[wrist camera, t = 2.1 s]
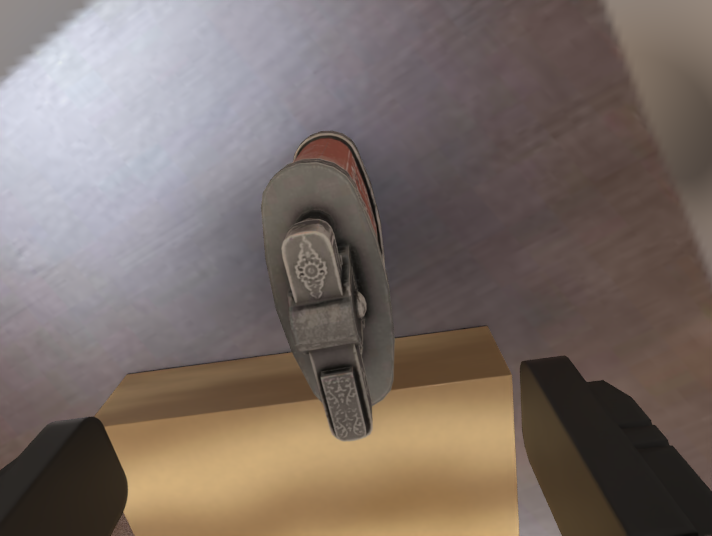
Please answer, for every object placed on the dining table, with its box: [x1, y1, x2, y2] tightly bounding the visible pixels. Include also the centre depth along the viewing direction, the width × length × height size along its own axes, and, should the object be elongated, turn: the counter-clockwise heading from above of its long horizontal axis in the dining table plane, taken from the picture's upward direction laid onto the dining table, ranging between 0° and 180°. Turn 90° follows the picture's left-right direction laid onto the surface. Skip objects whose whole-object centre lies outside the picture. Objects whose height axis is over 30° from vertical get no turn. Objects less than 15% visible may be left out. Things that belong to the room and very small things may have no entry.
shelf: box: [94, 326, 519, 536], centre depth 22 cm, size 12×18×7 cm, turn 99°
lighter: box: [261, 131, 395, 442], centre depth 16 cm, size 8×3×10 cm, turn 11°
